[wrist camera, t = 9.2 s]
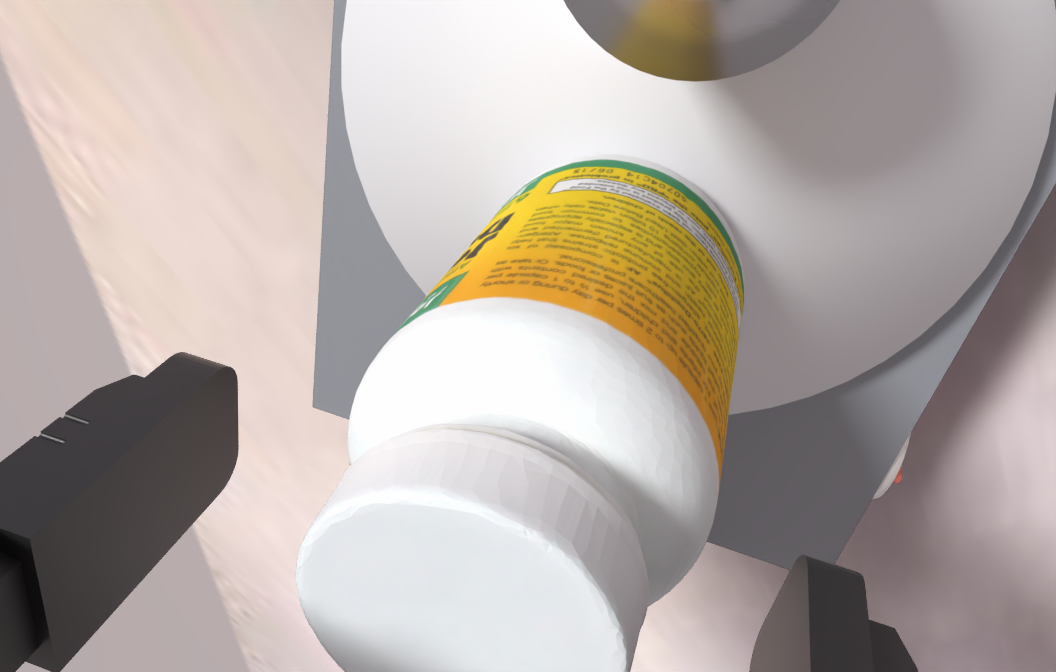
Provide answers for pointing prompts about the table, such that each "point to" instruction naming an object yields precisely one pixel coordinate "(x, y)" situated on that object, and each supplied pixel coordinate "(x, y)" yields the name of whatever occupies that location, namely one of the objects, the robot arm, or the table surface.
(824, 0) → the cylinder
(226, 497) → the table surface
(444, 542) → the supplement bottle
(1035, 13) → the scale
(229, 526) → the table surface
